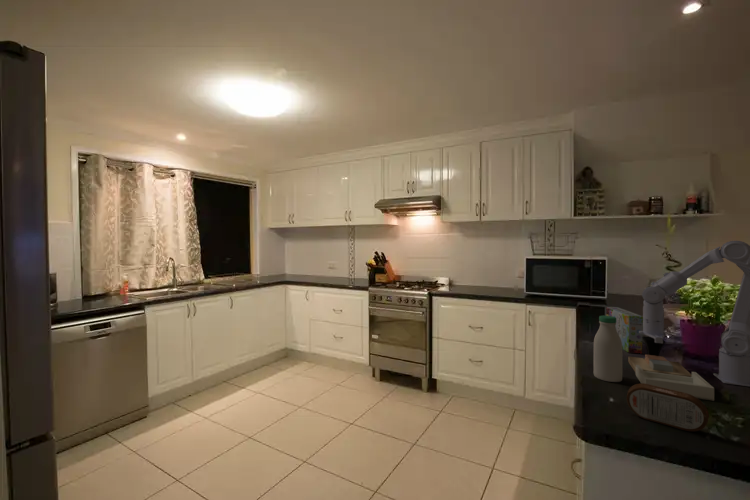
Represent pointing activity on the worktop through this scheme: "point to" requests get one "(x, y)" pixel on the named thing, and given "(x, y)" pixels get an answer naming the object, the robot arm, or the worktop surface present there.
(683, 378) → the tray
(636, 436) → the worktop surface
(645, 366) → the board
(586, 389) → the worktop surface
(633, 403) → the tin
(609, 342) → the milk bottle
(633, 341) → the snack box
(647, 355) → the terracotta tile
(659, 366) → the slate tile
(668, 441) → the worktop surface
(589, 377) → the worktop surface
